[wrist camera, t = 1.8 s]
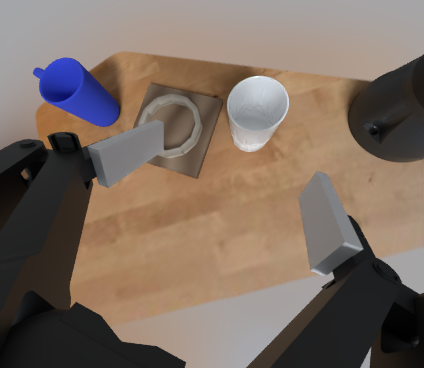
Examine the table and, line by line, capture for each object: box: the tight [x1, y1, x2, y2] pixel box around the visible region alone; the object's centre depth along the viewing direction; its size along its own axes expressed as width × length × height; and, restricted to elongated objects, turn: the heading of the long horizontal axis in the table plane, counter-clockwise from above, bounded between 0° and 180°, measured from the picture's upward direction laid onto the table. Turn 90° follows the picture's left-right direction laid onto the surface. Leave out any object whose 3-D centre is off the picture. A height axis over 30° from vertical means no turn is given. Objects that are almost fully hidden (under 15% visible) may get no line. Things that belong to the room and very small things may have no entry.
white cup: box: [227, 76, 289, 152], centre depth 26 cm, size 8×8×10 cm
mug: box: [33, 58, 119, 127], centre depth 31 cm, size 8×12×10 cm
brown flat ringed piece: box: [133, 84, 223, 179], centre depth 32 cm, size 16×16×3 cm
